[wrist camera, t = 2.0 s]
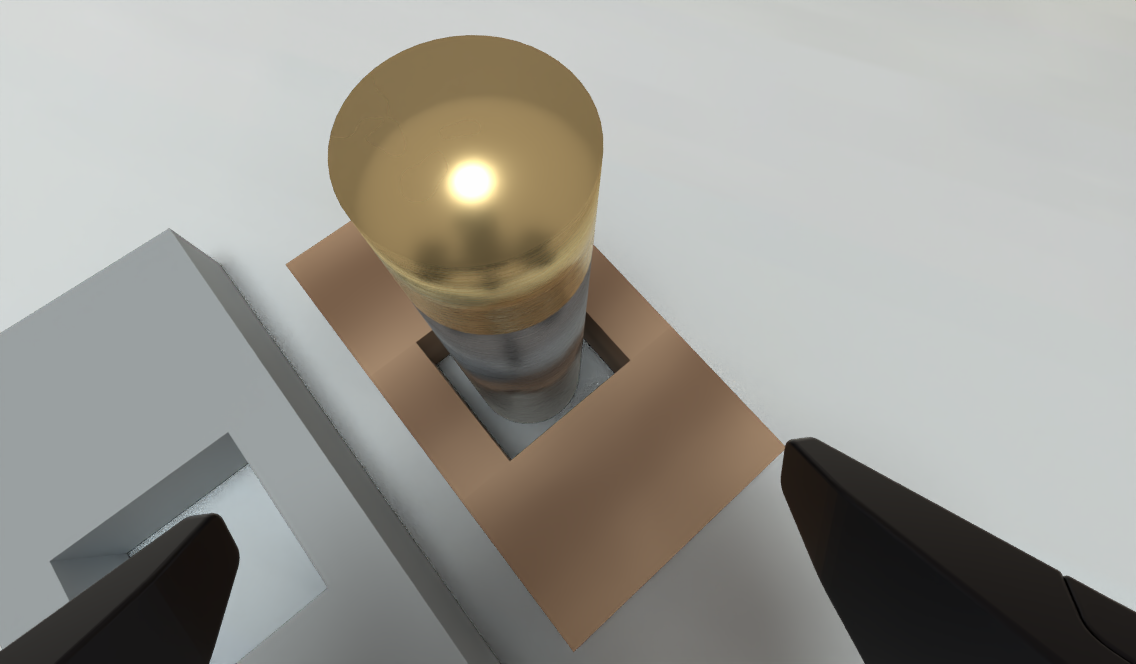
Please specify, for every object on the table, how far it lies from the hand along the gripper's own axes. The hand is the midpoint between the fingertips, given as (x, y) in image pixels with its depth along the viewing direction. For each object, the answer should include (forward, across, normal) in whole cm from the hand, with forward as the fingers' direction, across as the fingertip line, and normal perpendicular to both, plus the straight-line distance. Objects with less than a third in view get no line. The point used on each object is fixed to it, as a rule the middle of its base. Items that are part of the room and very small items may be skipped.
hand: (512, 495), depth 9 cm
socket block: (+12, 0, +5) cm, 13 cm away
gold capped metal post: (+12, 0, +5) cm, 13 cm away
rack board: (+8, +11, +9) cm, 16 cm away
